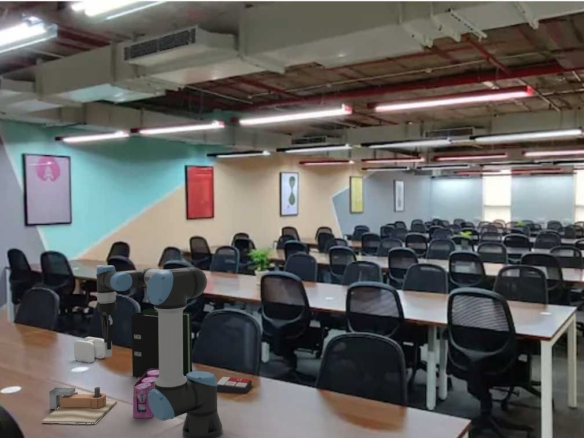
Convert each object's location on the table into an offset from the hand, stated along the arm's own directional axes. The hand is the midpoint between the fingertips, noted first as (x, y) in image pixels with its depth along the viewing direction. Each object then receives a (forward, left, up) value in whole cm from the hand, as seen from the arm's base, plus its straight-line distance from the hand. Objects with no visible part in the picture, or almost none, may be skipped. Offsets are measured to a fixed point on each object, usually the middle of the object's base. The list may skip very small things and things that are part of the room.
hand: (108, 356), depth 223 cm
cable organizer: (+69, +41, -23) cm, 83 cm away
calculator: (+27, -49, -24) cm, 61 cm away
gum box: (+3, -17, -23) cm, 29 cm away
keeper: (+2, +21, -23) cm, 31 cm away
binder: (+44, -9, -23) cm, 51 cm away
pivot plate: (-4, +11, -23) cm, 26 cm away
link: (0, +12, -22) cm, 25 cm away
